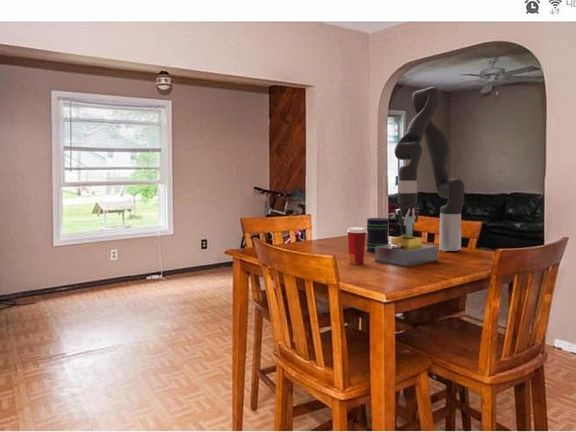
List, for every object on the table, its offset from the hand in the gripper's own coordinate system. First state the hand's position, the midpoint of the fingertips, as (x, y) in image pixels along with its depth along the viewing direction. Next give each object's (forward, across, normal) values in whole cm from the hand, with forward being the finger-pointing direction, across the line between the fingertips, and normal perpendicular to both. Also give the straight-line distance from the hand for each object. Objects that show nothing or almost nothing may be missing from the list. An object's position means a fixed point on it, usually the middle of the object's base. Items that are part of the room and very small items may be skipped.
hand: (406, 233), depth 190 cm
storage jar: (+11, -9, -23) cm, 27 cm away
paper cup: (+11, +19, -10) cm, 24 cm away
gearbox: (+11, 0, 0) cm, 11 cm away
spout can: (+1, 0, 0) cm, 1 cm away
